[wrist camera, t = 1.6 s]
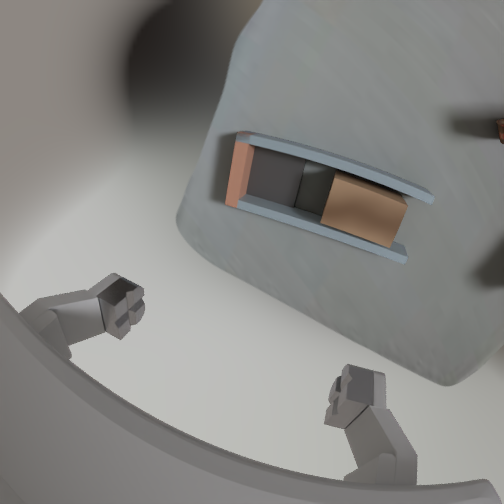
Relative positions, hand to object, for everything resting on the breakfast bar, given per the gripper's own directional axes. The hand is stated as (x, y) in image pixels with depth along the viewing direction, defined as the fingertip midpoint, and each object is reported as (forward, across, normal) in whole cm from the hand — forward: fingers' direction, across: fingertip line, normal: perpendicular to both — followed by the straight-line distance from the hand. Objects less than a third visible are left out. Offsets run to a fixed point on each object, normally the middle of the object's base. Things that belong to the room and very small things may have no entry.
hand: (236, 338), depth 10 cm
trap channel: (+25, -2, -1) cm, 25 cm away
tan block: (+25, -6, -1) cm, 25 cm away
